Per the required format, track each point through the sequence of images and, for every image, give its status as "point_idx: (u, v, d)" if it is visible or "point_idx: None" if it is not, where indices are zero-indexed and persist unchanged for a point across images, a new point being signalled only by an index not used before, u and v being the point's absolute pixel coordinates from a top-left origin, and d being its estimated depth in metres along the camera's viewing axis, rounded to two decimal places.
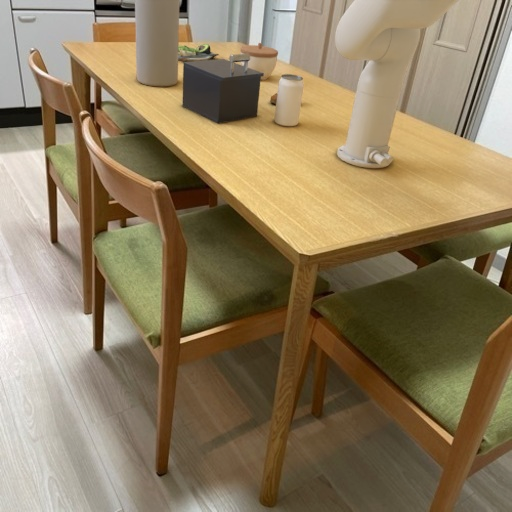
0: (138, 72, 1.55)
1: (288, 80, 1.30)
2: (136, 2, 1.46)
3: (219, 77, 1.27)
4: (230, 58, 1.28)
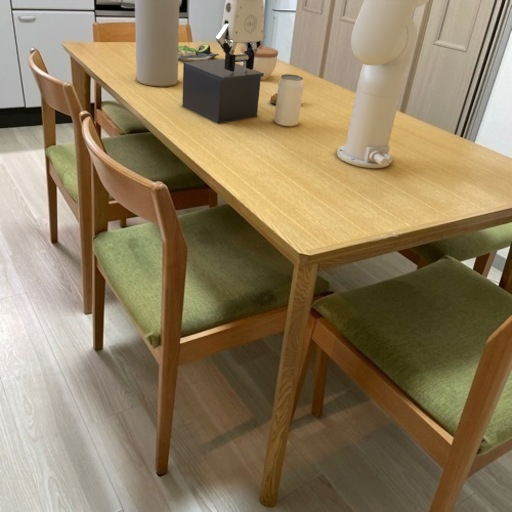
0: (138, 72, 1.55)
1: (288, 80, 1.30)
2: (136, 2, 1.46)
3: (219, 77, 1.27)
4: None
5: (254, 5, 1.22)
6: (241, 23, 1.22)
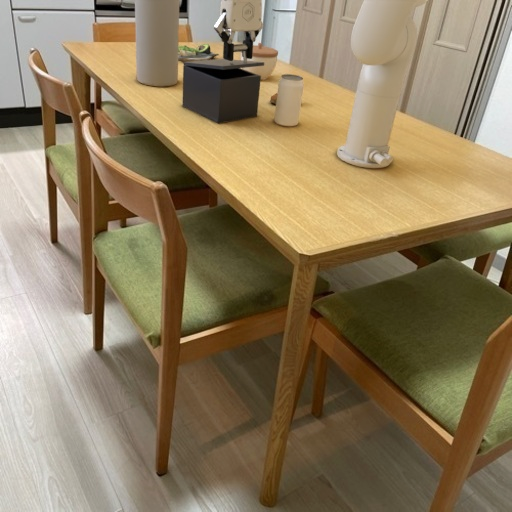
0: (138, 72, 1.55)
1: (288, 80, 1.30)
2: (136, 2, 1.46)
3: (219, 67, 1.26)
4: None
5: None
6: (239, 11, 1.21)
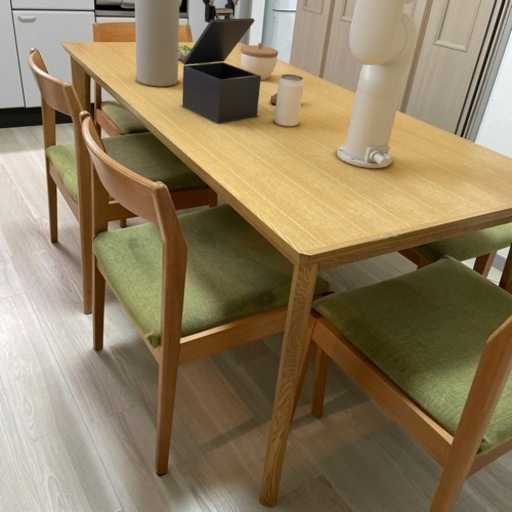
0: (138, 72, 1.55)
1: (288, 80, 1.30)
2: (136, 2, 1.46)
3: (208, 24, 1.24)
4: None
5: None
6: None
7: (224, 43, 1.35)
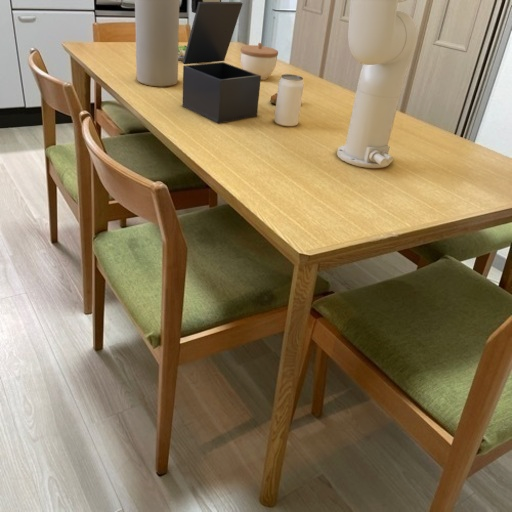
0: (138, 72, 1.55)
1: (288, 80, 1.30)
2: (136, 2, 1.46)
3: (197, 8, 1.25)
4: None
5: None
6: None
7: (219, 34, 1.35)
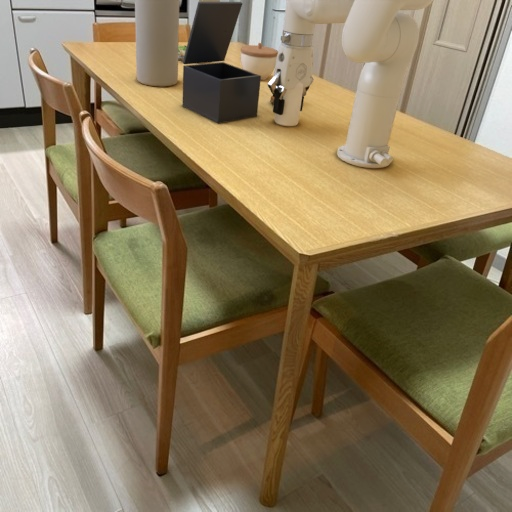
0: (138, 72, 1.55)
1: None
2: (136, 2, 1.46)
3: (197, 8, 1.25)
4: None
5: (305, 55, 1.28)
6: (293, 72, 1.28)
7: (219, 34, 1.35)
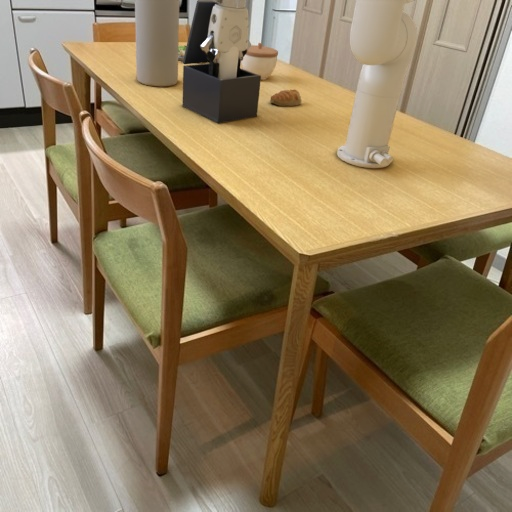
0: (138, 72, 1.55)
1: None
2: (136, 2, 1.46)
3: (196, 7, 1.26)
4: None
5: (239, 17, 1.26)
6: (226, 34, 1.26)
7: None
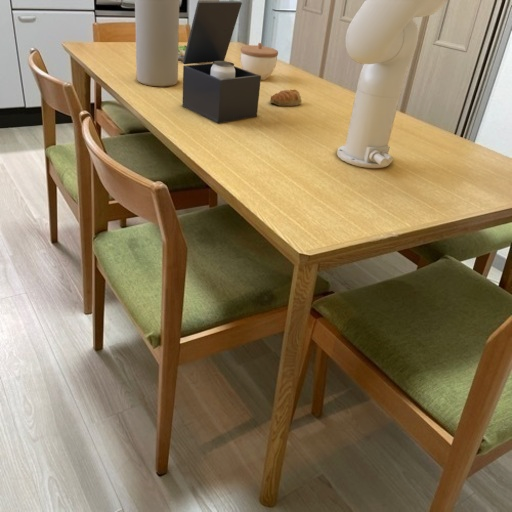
0: (138, 72, 1.55)
1: (219, 66, 1.32)
2: (136, 2, 1.46)
3: (196, 8, 1.25)
4: None
5: None
6: None
7: (219, 34, 1.35)
